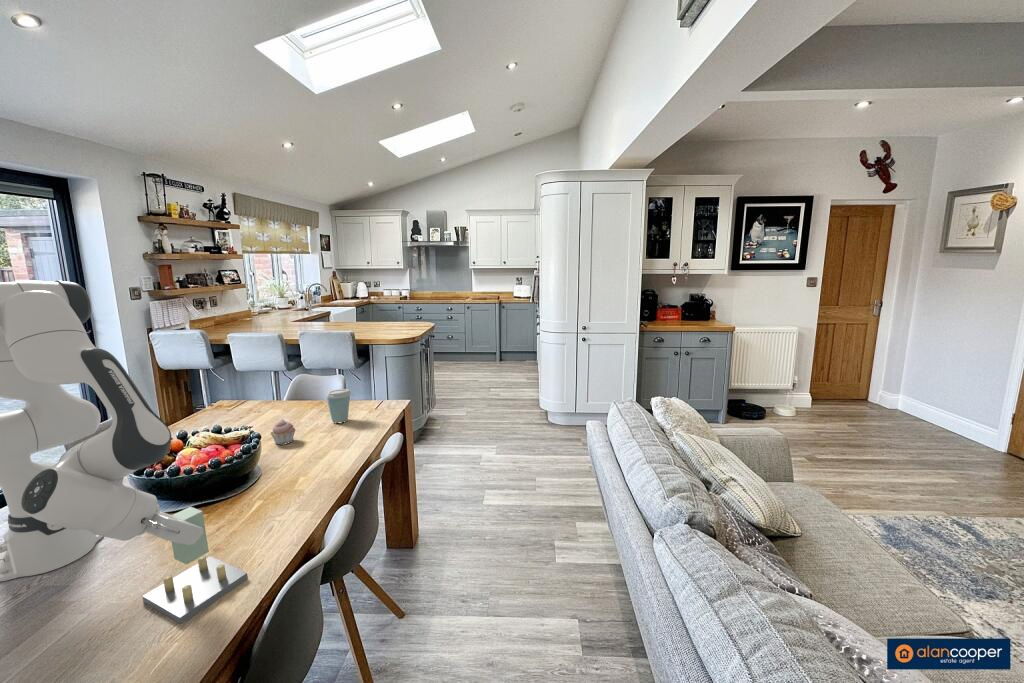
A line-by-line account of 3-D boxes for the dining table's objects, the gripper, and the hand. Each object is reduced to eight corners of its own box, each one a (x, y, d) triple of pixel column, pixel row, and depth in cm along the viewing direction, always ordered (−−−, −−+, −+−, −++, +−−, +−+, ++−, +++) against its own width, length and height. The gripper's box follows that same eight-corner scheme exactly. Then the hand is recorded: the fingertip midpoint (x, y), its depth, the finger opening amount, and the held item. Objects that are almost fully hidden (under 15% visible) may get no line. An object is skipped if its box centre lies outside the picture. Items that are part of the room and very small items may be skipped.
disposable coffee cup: (323, 422, 197) (320, 391, 194) (344, 415, 206) (341, 385, 203) (337, 427, 191) (334, 395, 188) (357, 420, 200) (355, 389, 197)
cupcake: (302, 438, 179) (299, 415, 178) (286, 447, 170) (284, 424, 169) (282, 436, 181) (279, 414, 179) (266, 446, 172) (263, 422, 170)
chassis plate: (143, 602, 92) (139, 583, 92) (211, 561, 105) (208, 545, 104) (181, 624, 87) (177, 604, 86) (247, 578, 99) (245, 561, 98)
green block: (174, 558, 93) (167, 517, 91) (196, 546, 97) (190, 506, 95) (186, 564, 91) (179, 522, 89) (208, 551, 95) (202, 511, 93)
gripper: (171, 510, 81) (230, 528, 91) (115, 488, 89) (174, 507, 99) (147, 545, 77) (211, 559, 88) (91, 519, 86) (155, 535, 96)
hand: (191, 531), depth 94 cm, fingers closed on green block, 4 cm apart
